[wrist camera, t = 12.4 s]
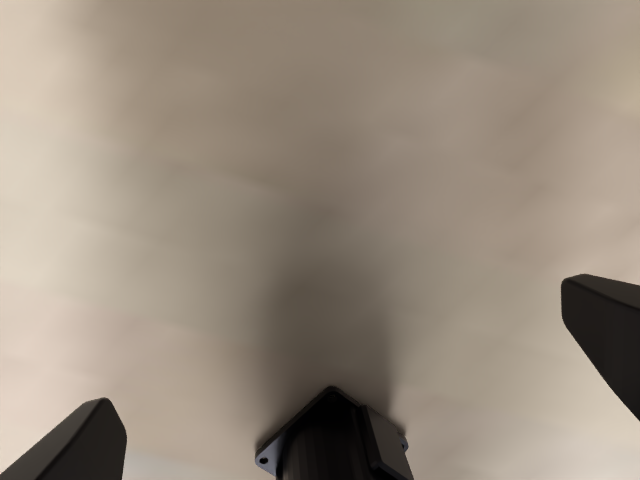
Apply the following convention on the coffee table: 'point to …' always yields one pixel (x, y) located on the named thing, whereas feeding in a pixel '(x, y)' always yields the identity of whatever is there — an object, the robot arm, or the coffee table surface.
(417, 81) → the coffee table surface
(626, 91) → the coffee table surface
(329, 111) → the coffee table surface
